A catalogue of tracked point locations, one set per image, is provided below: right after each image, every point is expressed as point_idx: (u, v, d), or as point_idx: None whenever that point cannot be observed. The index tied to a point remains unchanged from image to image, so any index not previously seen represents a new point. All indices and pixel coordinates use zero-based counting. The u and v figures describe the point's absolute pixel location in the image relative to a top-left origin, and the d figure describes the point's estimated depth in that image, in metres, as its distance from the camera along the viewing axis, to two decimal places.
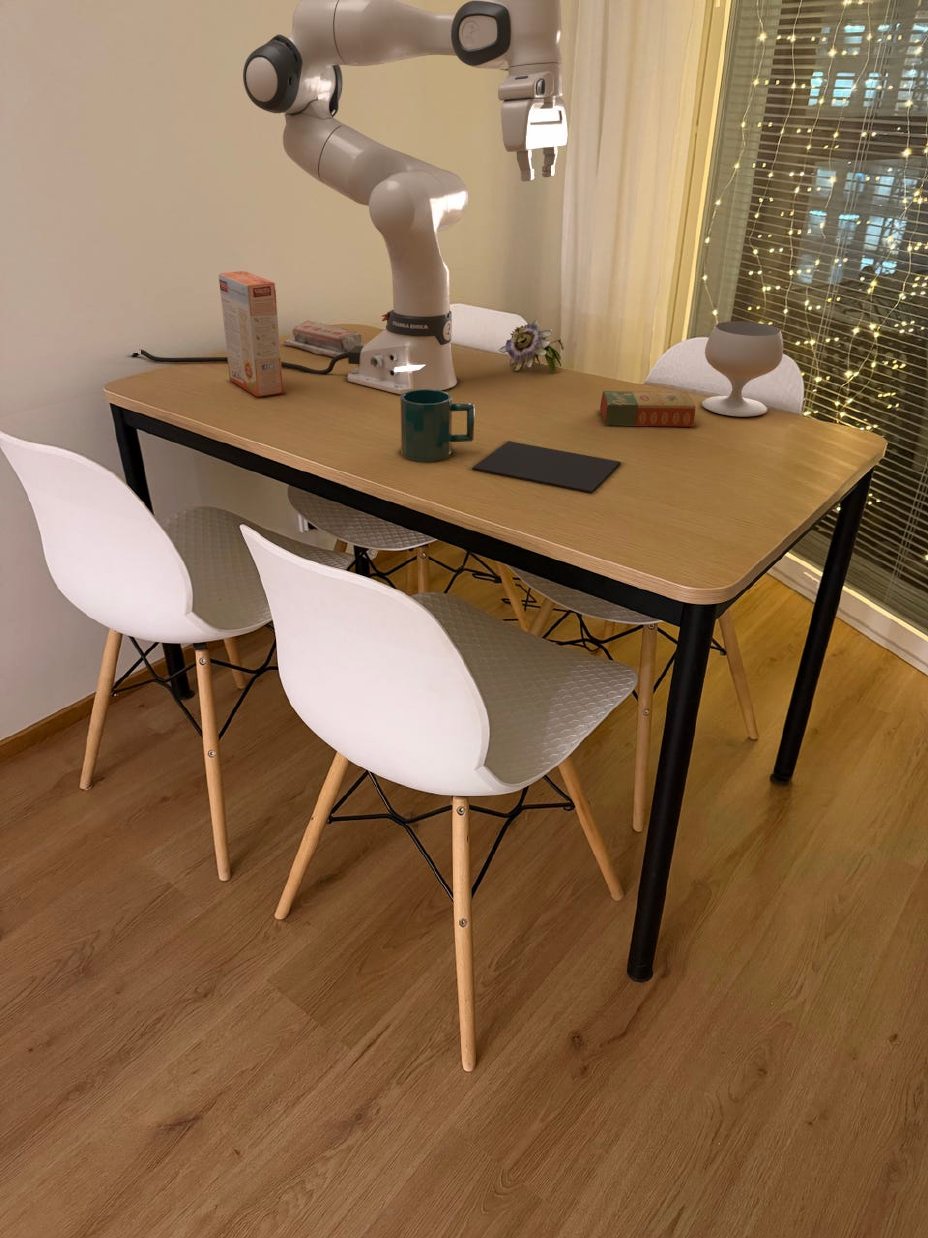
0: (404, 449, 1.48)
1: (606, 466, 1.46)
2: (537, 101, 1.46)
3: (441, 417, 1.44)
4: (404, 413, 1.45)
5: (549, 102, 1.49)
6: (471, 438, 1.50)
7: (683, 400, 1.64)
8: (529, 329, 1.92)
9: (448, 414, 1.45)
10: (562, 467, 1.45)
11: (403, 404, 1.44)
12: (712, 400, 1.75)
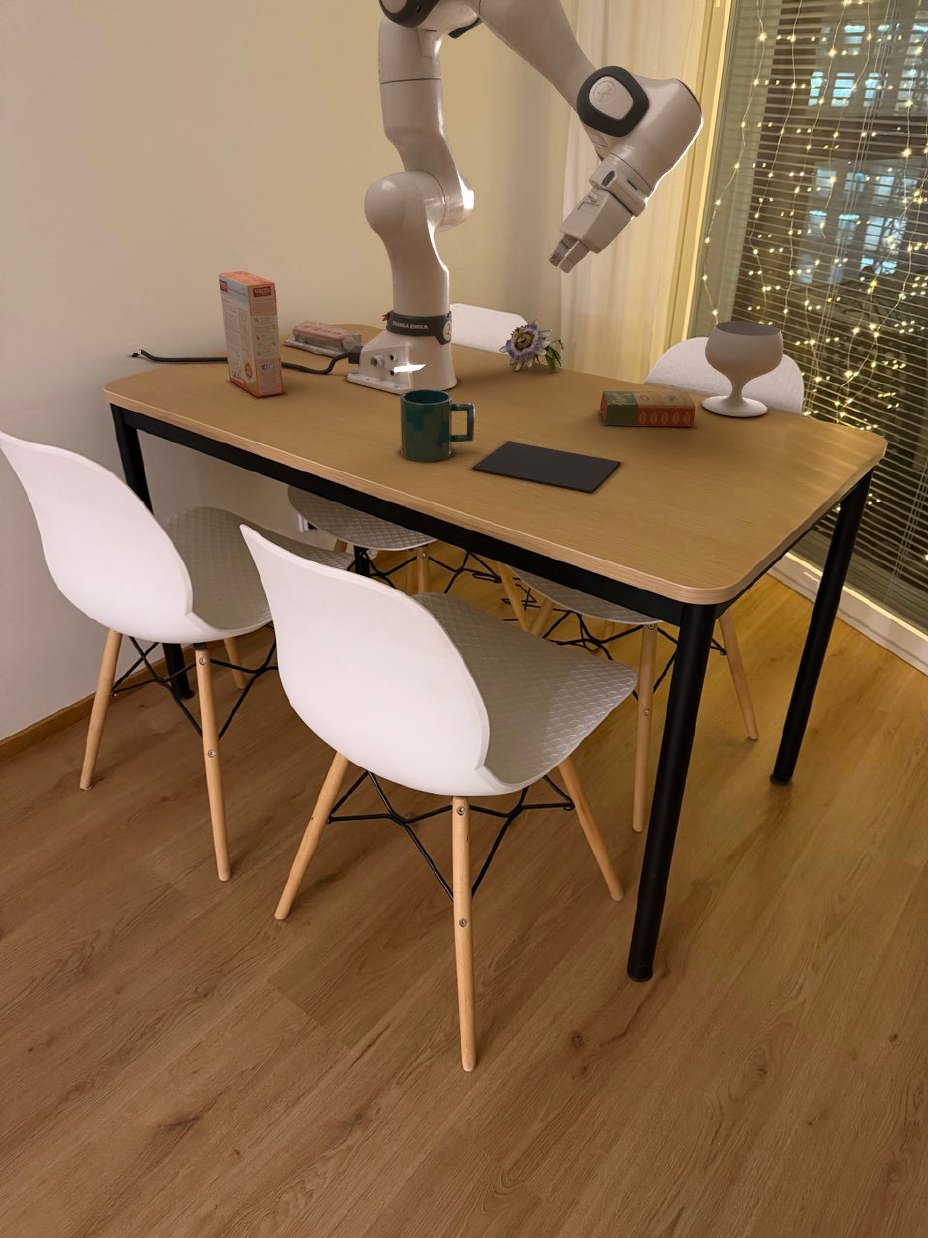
0: (404, 449, 1.48)
1: (606, 466, 1.46)
2: None
3: (441, 417, 1.44)
4: (404, 413, 1.45)
5: None
6: (471, 438, 1.50)
7: (683, 400, 1.64)
8: (529, 329, 1.92)
9: (448, 414, 1.45)
10: (562, 467, 1.45)
11: (403, 404, 1.44)
12: (712, 400, 1.75)
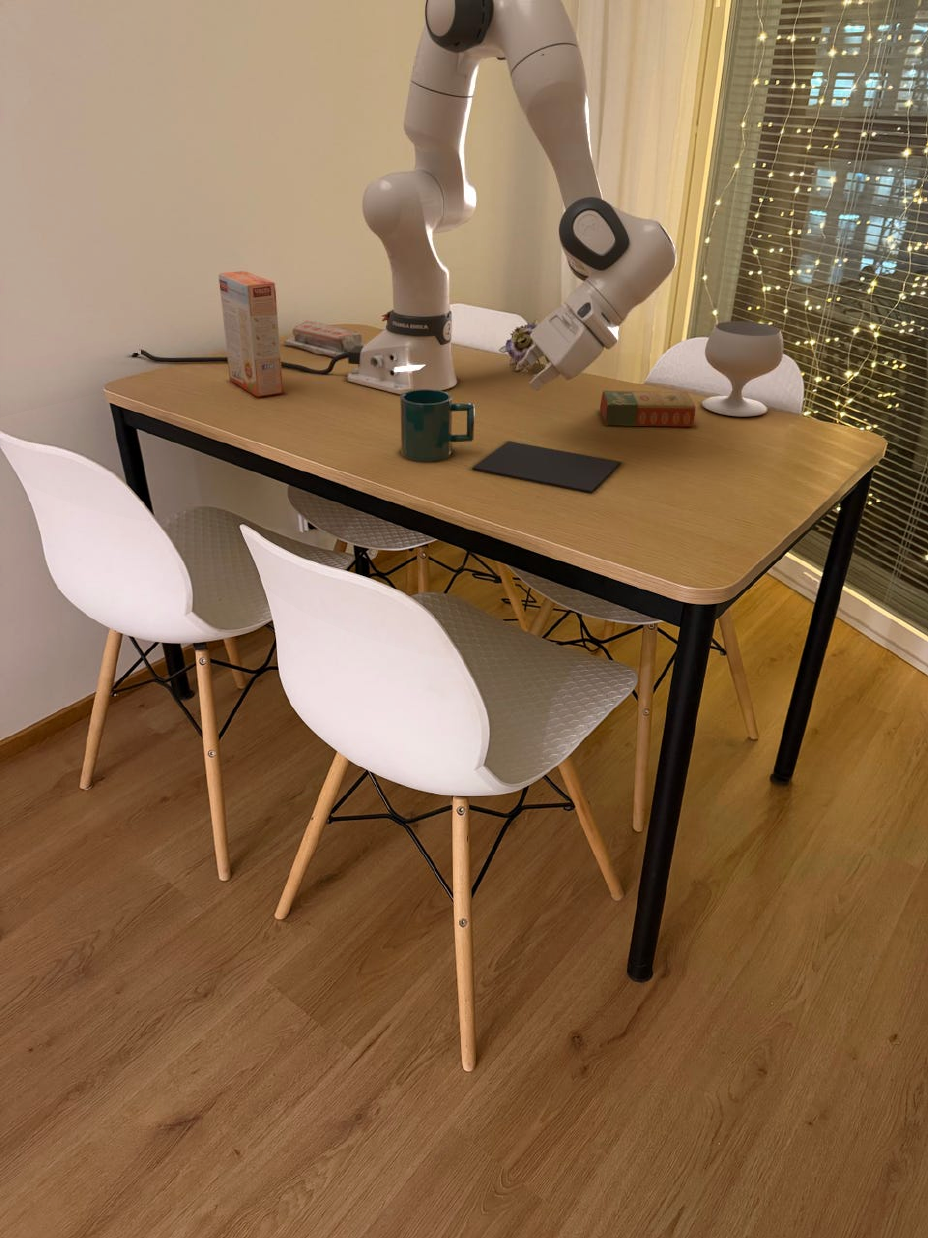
0: (404, 449, 1.48)
1: (606, 466, 1.46)
2: None
3: (441, 417, 1.44)
4: (404, 413, 1.45)
5: None
6: (471, 438, 1.50)
7: (683, 400, 1.64)
8: (529, 329, 1.92)
9: (448, 414, 1.45)
10: (562, 467, 1.45)
11: (403, 404, 1.44)
12: (712, 400, 1.75)
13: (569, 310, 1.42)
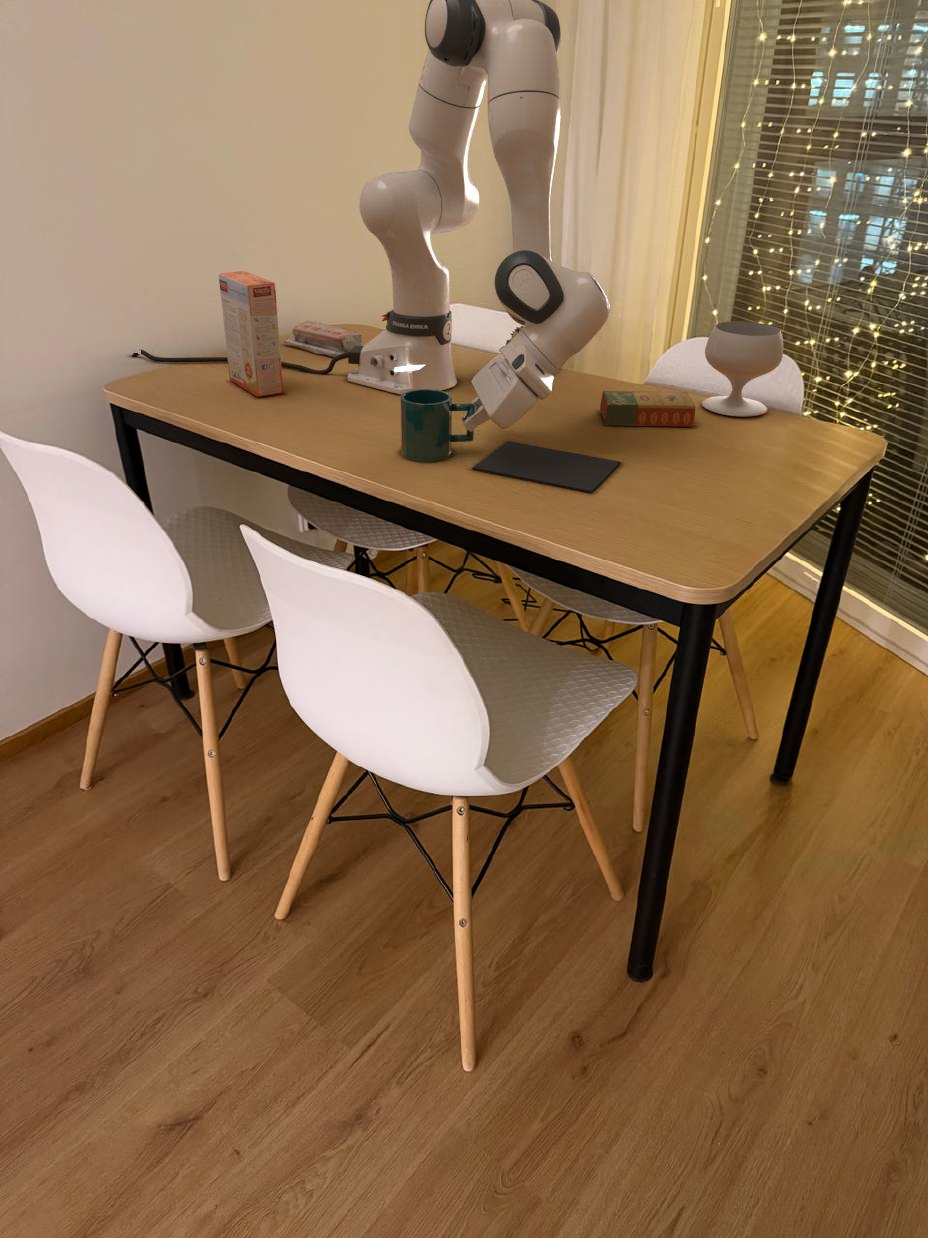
0: (404, 449, 1.48)
1: (606, 466, 1.46)
2: None
3: (441, 417, 1.44)
4: (404, 413, 1.45)
5: None
6: (471, 438, 1.50)
7: (683, 400, 1.64)
8: None
9: (448, 414, 1.45)
10: (562, 467, 1.45)
11: (403, 404, 1.44)
12: (712, 400, 1.75)
13: (506, 360, 1.44)
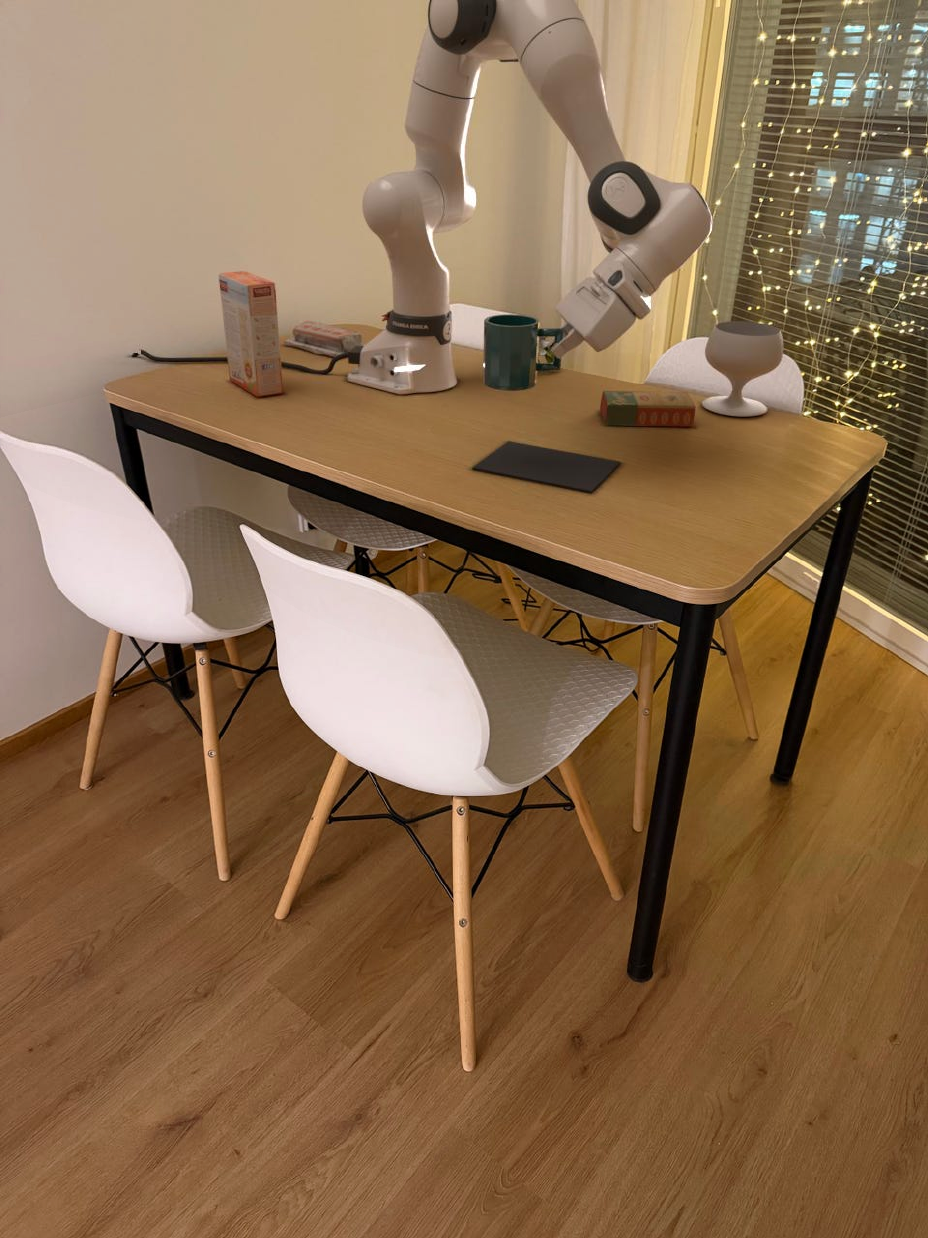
0: (487, 378, 1.39)
1: (606, 466, 1.46)
2: None
3: (529, 341, 1.35)
4: (489, 337, 1.35)
5: None
6: (558, 367, 1.40)
7: (683, 400, 1.64)
8: None
9: (536, 338, 1.36)
10: (562, 467, 1.45)
11: (488, 327, 1.35)
12: (712, 400, 1.75)
13: (598, 279, 1.34)
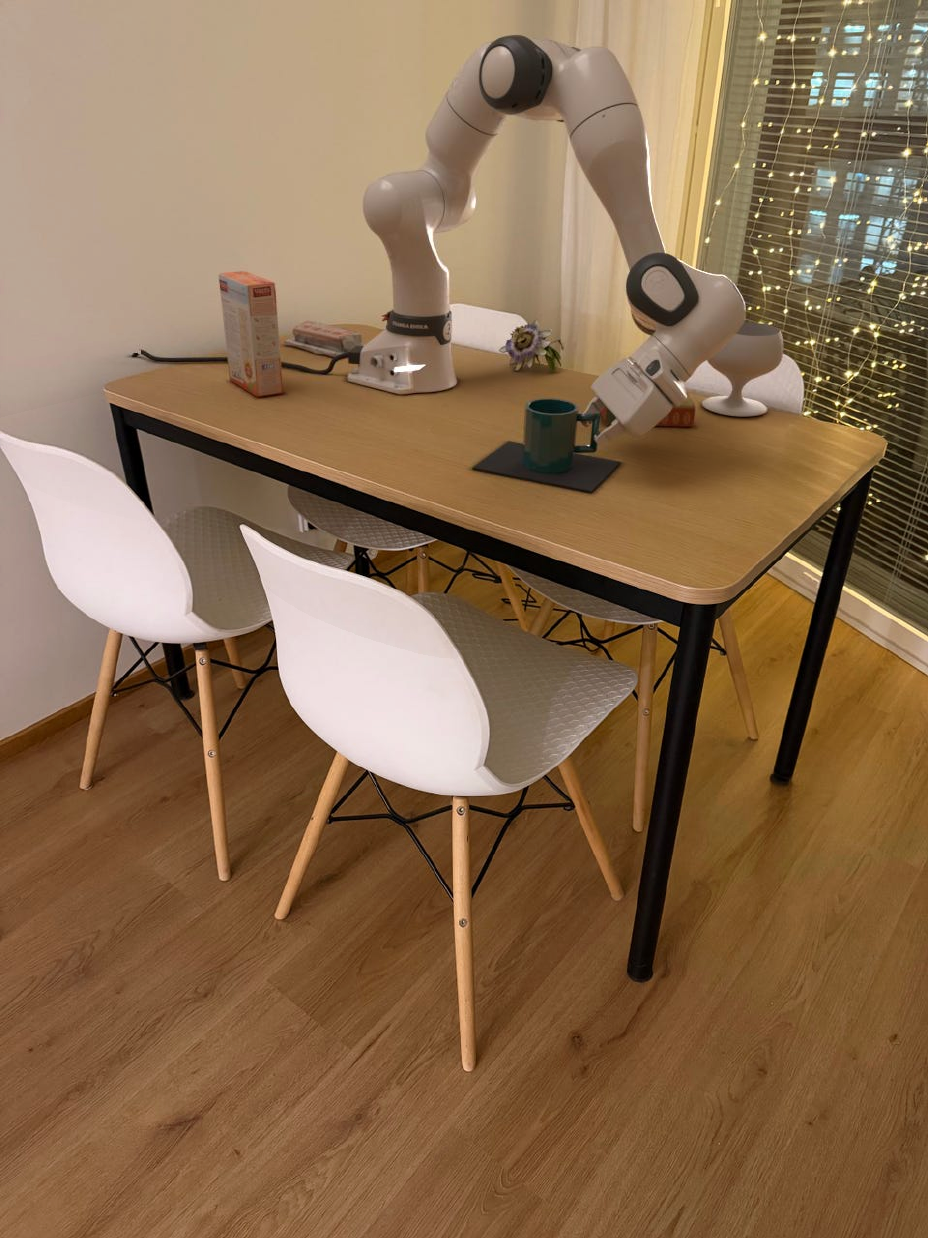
0: (527, 460, 1.44)
1: (606, 466, 1.46)
2: None
3: (568, 428, 1.40)
4: (530, 423, 1.40)
5: None
6: (595, 449, 1.45)
7: None
8: (529, 329, 1.92)
9: (575, 424, 1.41)
10: None
11: (529, 414, 1.40)
12: (712, 400, 1.75)
13: (635, 365, 1.39)
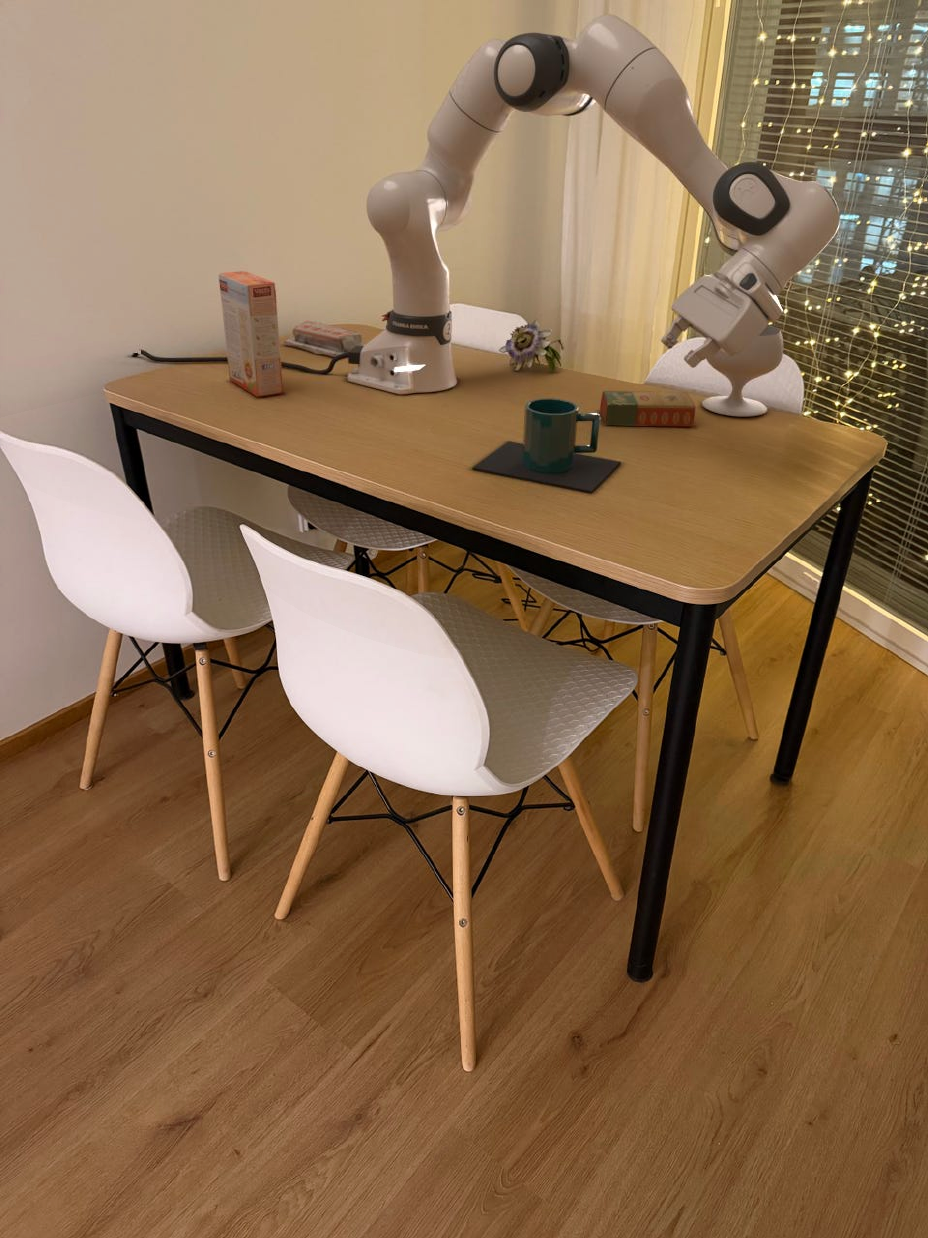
0: (527, 460, 1.44)
1: (606, 466, 1.46)
2: None
3: (568, 428, 1.40)
4: (530, 423, 1.40)
5: None
6: (595, 449, 1.45)
7: (683, 400, 1.64)
8: (529, 329, 1.92)
9: (575, 424, 1.41)
10: None
11: (529, 414, 1.40)
12: (712, 400, 1.75)
13: (725, 281, 1.35)
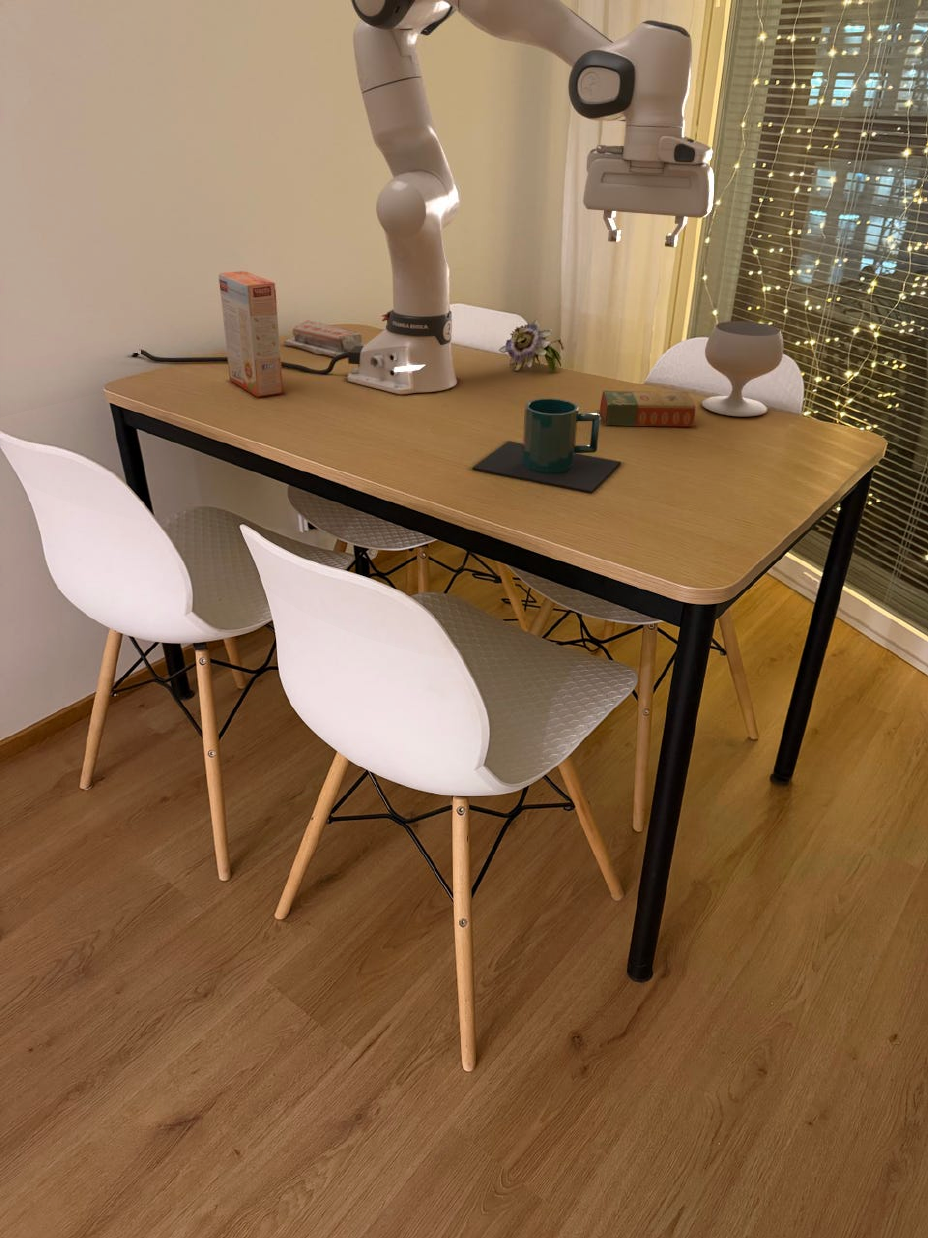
0: (527, 460, 1.44)
1: (606, 466, 1.46)
2: None
3: (568, 428, 1.40)
4: (530, 423, 1.40)
5: None
6: (595, 449, 1.45)
7: (683, 400, 1.64)
8: (529, 329, 1.92)
9: (575, 424, 1.41)
10: None
11: (529, 414, 1.40)
12: (712, 400, 1.75)
13: (648, 162, 1.38)
